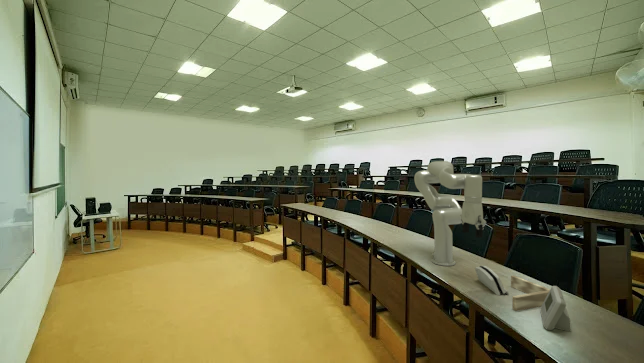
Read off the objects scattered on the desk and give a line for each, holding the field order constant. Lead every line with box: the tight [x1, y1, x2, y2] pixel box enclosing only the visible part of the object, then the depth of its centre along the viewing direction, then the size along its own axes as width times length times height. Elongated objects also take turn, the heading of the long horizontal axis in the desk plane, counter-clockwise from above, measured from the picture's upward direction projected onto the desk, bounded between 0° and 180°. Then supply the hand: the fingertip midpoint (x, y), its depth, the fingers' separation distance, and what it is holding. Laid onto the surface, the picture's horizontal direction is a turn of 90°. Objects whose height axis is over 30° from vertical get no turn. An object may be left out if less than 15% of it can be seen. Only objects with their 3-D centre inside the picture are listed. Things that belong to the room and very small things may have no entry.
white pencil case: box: [474, 265, 510, 296], centre depth 124 cm, size 17×5×10 cm, turn 175°
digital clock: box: [540, 285, 571, 332], centre depth 94 cm, size 16×9×11 cm, turn 133°
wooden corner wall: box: [510, 275, 551, 312], centre depth 113 cm, size 18×20×5 cm
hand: (472, 234), depth 134 cm, fingers open, 9 cm apart
